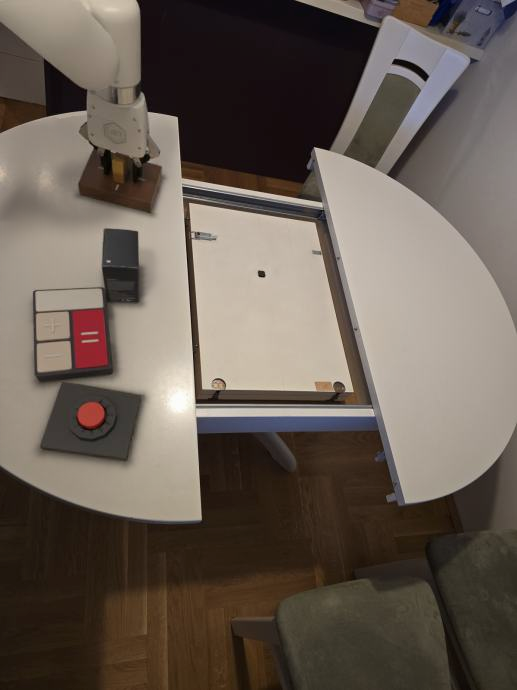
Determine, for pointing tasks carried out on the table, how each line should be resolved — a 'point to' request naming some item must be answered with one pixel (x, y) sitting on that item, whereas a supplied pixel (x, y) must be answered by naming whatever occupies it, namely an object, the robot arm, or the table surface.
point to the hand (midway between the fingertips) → (122, 172)
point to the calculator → (71, 334)
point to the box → (121, 265)
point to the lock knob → (120, 167)
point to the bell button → (91, 415)
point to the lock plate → (120, 184)
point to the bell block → (102, 440)
